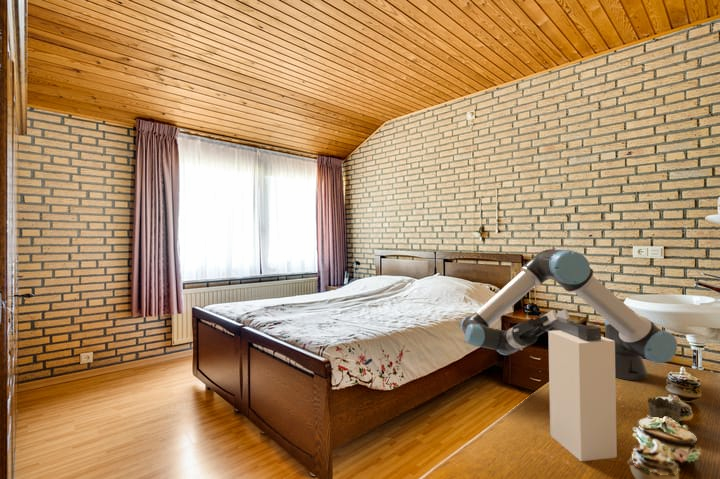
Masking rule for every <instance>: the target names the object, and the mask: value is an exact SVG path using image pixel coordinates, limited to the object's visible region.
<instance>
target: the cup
mask: <svg viewBox="0 0 720 479" xmlns="http://www.w3.org/2000/svg"><path fill="white" fill-rule="evenodd" d="M647 403H648V404H647V405H648V411H649V415H650V418H651V417H659V418H663V417H664V416H668V417H670V418H672V419H673V420H675V421H676V422H678V424H679V422H680V418H681V411H682V410H681V409H682V406H681V404H680V403H677V401H673V402H670V401H669V399H668V398H665V399H664V398H662V397H660V396H659V397H657V398H656V397H655V396H653V397H648V398H647Z"/></svg>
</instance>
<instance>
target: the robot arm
mask: <svg viewBox="0 0 720 479" xmlns="http://www.w3.org/2000/svg"><path fill="white" fill-rule="evenodd" d="M548 280H552V281H555V282H556V283H557V284H558V285H559V286H561V288H563V289H564V290H565V291H566V292H568V293H572V292H573V293H574V294H576V295H577V296H578V297H579V298H580V299H582V300H583V301H584V302H585V303H586V304H587V305H588V306H589V307H591V309H593V310H594V311H595V312H596V313H597V314H598V315H599V316H601V317H602V318H603V319H604V320H605V322H604V327H605V328H604V329H605V331H604V333H605V338H608V339H611V340H614V341H615V378H617V379H623V380H627V381H644V380H646V379H648V370H647V368H646V365H645V363H644V361H643V360H644V359H646V360H647V361H650V362H652V363H653V362H654V363H656V364H663V363H664V364H665V363H668V362H669V361H670V360H672V359H673V358H674V357H675V355H676V354H677V352H678V341H677V338H676V337H675V336H674V335H673V334H672V333H670V332H669V331H666V330H663V329H661V328H659V327H658V326H657V325H656V324H654V323H653V322H652V321H651V320H650V319H648V318H647V317H644V316H639V315H638V314H636V313H635V312H634V311H633V310H632V309H631V308H630V307H629V306H628V305H626V304H625V303H624V302H623V301H622V300H620V298H619V297H617V296H616V295H615V294H614V293H613V292H612V291H611V290H609V289H608V288H607V287H606V286H605V285H604V284H603V283H602V282H600V280H598V279H597V278H596V277H595V276H594V270H593V268H591V266H590V262H589V260H588V259H587V258H586V256H584V255H583V254H581V253H580V252H578V251H576V250H575V251H574V250H571V249H570V250H569V249H553V248H549V249H545V250H542V251H540V252H539V253H537V254H536V255H534V256H532V258H530V260H528V261H527V262H526V263H525V264H523V266H522V267H521V268H520V272H519V273H517V275H516V276H514V277H513V278H512V279H511V280H510V281H508V283H506V284H505V285H504V286H503V287H502V288H501V289H500V290H499V291H497V293H495V294H494V295H493V296H492V297H491V298H489V300H487V301H486V302H485V303H484V304H483V305H482V306H480V308H479V309H478V310H476V311H475V312H474V313H473V314H471V315H467V316H465V317H463V318H462V319H461V322H460V328H461V330H462V332H463V333H464V334H465V336H464V338H465V341H466V343H467V344H468V345H471V346H473V347H479V348H480V347H481V348H485V349H490V350H495V351H496V352H497V353H498V354H500V355H503V356H508V355H512V354H515V353H516V352H518V351H523V350H524V348H527V346H530V345H532V344H534V343H536V342H537V340H538V338H539V336H541V335H542V334H544V333H546V332H547V333H548V331H556V330H558V329H557V328H554V327H552V326H549V325H548V324H550V323H551V322H553V321H555V320H557V319H558V317H561V318H564V319H567V320H570V319H571V317H570V315H569V312H568V309H564V308H563V309H562V310H561V311H559V312H556V310H555V309H552V310H550V311H548V312H547V313H544V314H545V315H543V316H541V318H540V316H539V317H536V318H535V319H534V318H532V317H531V318H529V319H527V320H525V321H522V322H519V323H518V324H516V325H513V326H512V327H511V328H509V329H508V330H503V329H498V328H493V327H490V326H491V325H492V324H494V323H495V322H496V321H497V320H498V319H499V318H501V316H503V315H504V314H505V313H507V311H508V310H510V309H511V308H512V307H513V306H514V305H516V303H517V302H519V301H520V300H521V299H522V298H523V297H524V296H525V295H527V293H529V292H530V291H531V290H532V289H533V288H535V287H536V286H540V285H542V284H543V283H544V282H546V281H548ZM557 316H558V317H557ZM643 358H644V359H643Z"/></svg>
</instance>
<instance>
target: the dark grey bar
mask: <svg viewBox="0 0 720 479" xmlns="http://www.w3.org/2000/svg"><path fill="white" fill-rule="evenodd" d="M545 314H546V313H540V314H539V318H541V316H543V315H545ZM557 317H558V316H557ZM548 325H549V326H552V327H554V328H557V329H556V330H562V331H565V332H567V333H570V334H573V335H575V336H578V338H581V339H584V340H586V341H590V340H601V336H602V328H601V327H599V326H595V325H593V324H590V325H584V324H581V323H578V322H575V321H572V320H570V319H568V320H567V319H564V318H561V317H558V319H557V320H555V321H553V322H551V323H550V324H548Z"/></svg>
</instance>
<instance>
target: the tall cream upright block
mask: <svg viewBox="0 0 720 479" xmlns="http://www.w3.org/2000/svg"><path fill="white" fill-rule="evenodd" d="M547 333H548V334H547V335H548V374H549V376H548V377H549V378H548V380H549V386H548V387H549V389H548V390H549V429H550V430H549V435H550V437H552V438H553V439H554V440H555V441H556V442H557V443H558V444H560V446H562V447H563V448H565V450H567V451H569V453H570V454H572V455H573V456H574V457H575V458H576V459H577V460H578V461H580V462H587V461H597V460H598V461H599V460H606V459H613V458H617V456H618V455H617V454H618V451H617V449H618V448H617V447H618V445H617V444H618V443H617V400H616V399H617V397H616V396H617V394H616V393H617V391H616V390H617V389H616V384H617V383H616V377H615V341H614V340H611V339H608V338H606V336H605V337H604V336H602V335H601V340H590V341H586V340H584V339H581V338H578V336H575V335H573V334H570V333H567V332H565V331H562V330H559V329H555V330H554V331H548V332H547Z"/></svg>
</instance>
